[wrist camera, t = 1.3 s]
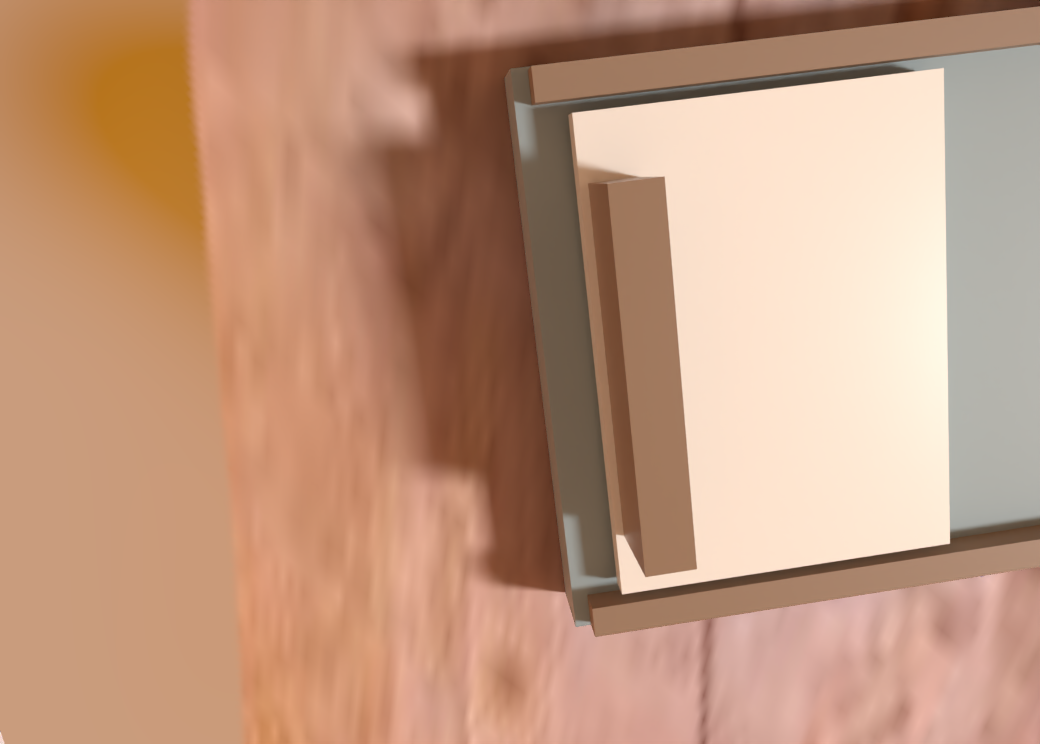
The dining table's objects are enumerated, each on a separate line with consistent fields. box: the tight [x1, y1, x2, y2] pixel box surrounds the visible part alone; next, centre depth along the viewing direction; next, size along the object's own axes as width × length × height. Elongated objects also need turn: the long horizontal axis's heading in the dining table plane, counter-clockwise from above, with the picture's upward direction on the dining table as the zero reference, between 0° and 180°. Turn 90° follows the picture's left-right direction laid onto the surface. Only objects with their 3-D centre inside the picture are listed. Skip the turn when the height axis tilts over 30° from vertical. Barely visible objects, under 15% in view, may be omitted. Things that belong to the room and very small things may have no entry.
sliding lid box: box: [504, 6, 1040, 637], centre depth 29 cm, size 18×24×4 cm
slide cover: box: [568, 68, 950, 594], centre depth 26 cm, size 15×11×4 cm
